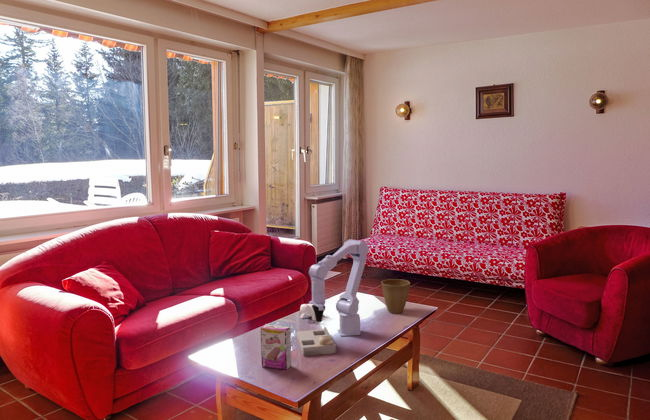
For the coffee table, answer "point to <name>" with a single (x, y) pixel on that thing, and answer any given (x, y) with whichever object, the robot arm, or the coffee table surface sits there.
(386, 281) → the plant pot
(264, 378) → the coffee table surface
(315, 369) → the coffee table surface
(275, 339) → the candy bar box
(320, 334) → the trap board
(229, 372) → the coffee table surface
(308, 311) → the white animal figurine
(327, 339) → the beige rounded knob
